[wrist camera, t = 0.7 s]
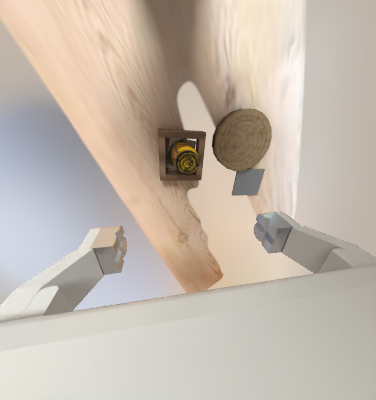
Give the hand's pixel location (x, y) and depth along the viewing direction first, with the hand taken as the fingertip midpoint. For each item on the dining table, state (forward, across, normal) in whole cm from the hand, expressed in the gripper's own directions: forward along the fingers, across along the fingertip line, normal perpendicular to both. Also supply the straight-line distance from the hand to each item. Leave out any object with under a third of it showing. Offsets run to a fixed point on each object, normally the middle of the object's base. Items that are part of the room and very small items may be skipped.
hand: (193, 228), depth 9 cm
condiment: (+37, -3, +3) cm, 37 cm away
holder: (+37, -3, +3) cm, 37 cm away
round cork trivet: (+37, -20, 0) cm, 42 cm away
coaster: (+37, -25, +13) cm, 47 cm away
